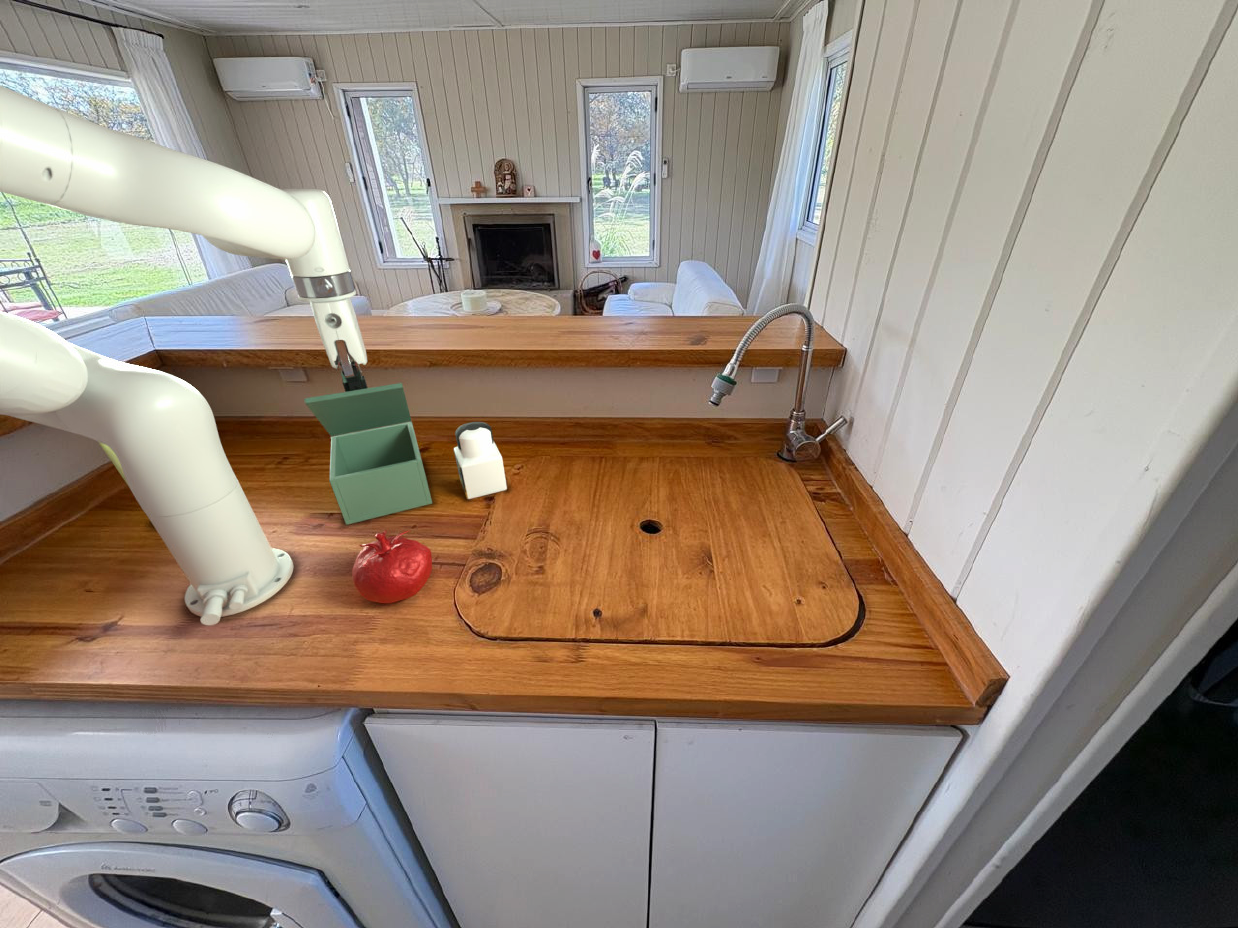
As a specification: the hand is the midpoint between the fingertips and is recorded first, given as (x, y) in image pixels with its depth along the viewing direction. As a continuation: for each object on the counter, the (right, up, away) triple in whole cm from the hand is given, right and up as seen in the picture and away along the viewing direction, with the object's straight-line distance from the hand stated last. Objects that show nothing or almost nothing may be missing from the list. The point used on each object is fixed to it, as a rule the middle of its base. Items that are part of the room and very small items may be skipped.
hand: (360, 401), depth 81 cm
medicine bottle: (+18, -14, +9) cm, 25 cm away
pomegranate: (+12, -28, -12) cm, 32 cm away
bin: (+1, -15, +8) cm, 17 cm away
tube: (-32, -19, +2) cm, 38 cm away
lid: (0, -2, +2) cm, 2 cm away
